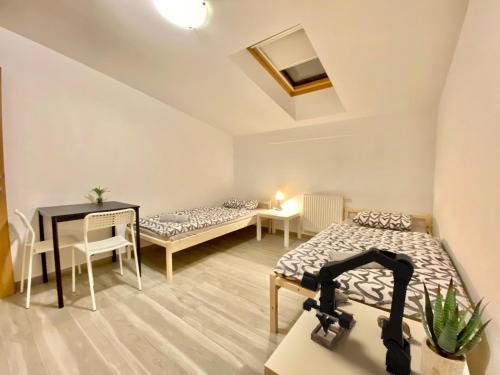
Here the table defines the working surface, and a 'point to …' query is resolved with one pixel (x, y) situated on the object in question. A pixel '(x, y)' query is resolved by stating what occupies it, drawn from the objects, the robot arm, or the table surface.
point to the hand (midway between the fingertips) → (326, 332)
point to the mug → (341, 296)
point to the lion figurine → (405, 326)
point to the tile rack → (339, 333)
